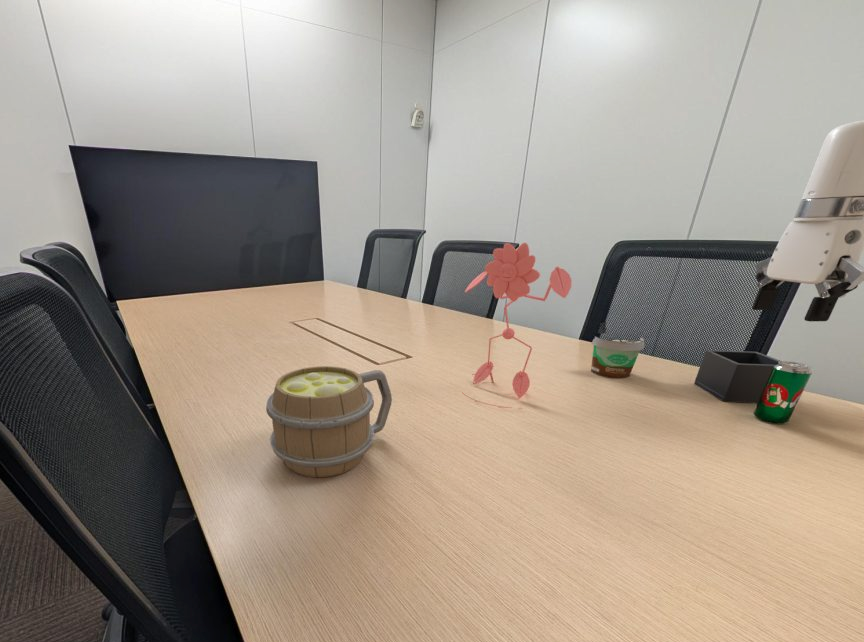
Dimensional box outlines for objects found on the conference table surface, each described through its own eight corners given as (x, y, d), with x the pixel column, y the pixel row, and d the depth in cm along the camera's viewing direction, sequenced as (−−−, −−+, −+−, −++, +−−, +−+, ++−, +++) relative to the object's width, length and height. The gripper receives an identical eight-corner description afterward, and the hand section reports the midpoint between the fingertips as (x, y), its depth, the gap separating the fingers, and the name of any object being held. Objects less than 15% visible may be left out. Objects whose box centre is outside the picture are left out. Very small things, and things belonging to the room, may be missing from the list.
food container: (594, 379, 100) (603, 342, 96) (585, 371, 105) (593, 336, 101) (645, 380, 98) (656, 343, 94) (633, 372, 103) (643, 337, 99)
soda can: (777, 415, 79) (802, 361, 74) (794, 426, 74) (821, 370, 70) (746, 412, 80) (769, 359, 76) (761, 423, 76) (786, 367, 71)
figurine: (468, 372, 106) (482, 241, 93) (559, 402, 87) (593, 242, 74) (431, 385, 98) (440, 243, 85) (522, 421, 79) (553, 245, 65)
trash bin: (742, 386, 93) (757, 351, 89) (778, 404, 83) (795, 366, 80) (693, 384, 95) (705, 350, 91) (722, 401, 85) (737, 364, 82)
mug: (420, 451, 69) (424, 376, 63) (297, 500, 58) (288, 413, 52) (365, 414, 84) (364, 350, 78) (259, 446, 72) (248, 374, 67)
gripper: (927, 207, 53) (866, 326, 59) (800, 212, 69) (764, 305, 75) (868, 209, 53) (815, 326, 60) (756, 213, 69) (724, 306, 76)
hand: (786, 314), depth 68 cm, fingers open, 9 cm apart
